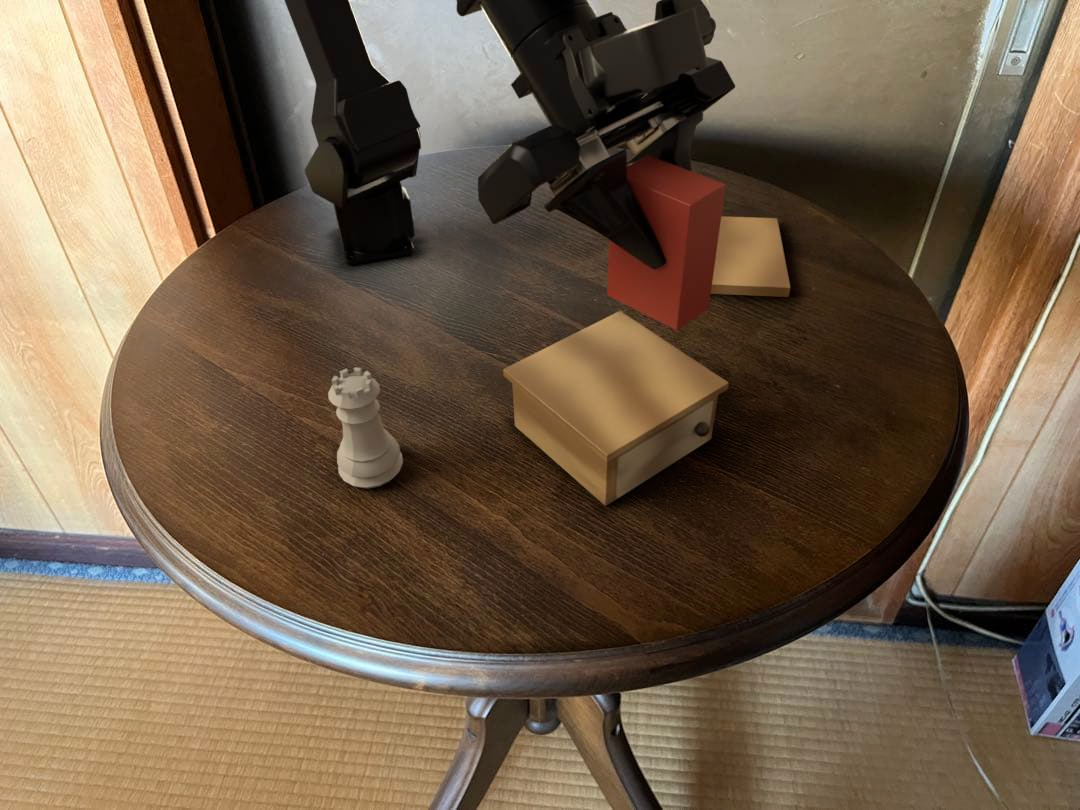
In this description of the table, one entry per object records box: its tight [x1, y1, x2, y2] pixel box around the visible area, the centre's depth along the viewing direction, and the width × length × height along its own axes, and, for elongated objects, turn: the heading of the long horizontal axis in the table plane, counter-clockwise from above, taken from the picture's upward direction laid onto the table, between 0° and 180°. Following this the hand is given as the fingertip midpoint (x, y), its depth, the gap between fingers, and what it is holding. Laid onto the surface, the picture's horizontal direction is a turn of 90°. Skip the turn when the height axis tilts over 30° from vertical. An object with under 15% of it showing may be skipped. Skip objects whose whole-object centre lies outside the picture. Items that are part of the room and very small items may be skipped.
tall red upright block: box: [606, 155, 727, 331], centre depth 53 cm, size 4×6×9 cm, turn 45°
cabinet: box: [502, 310, 730, 507], centre depth 58 cm, size 11×12×5 cm
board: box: [711, 215, 791, 298], centre depth 77 cm, size 13×12×1 cm
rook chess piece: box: [327, 367, 404, 490], centre depth 55 cm, size 4×4×8 cm
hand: (679, 254), depth 53 cm, fingers closed on tall red upright block, 3 cm apart
